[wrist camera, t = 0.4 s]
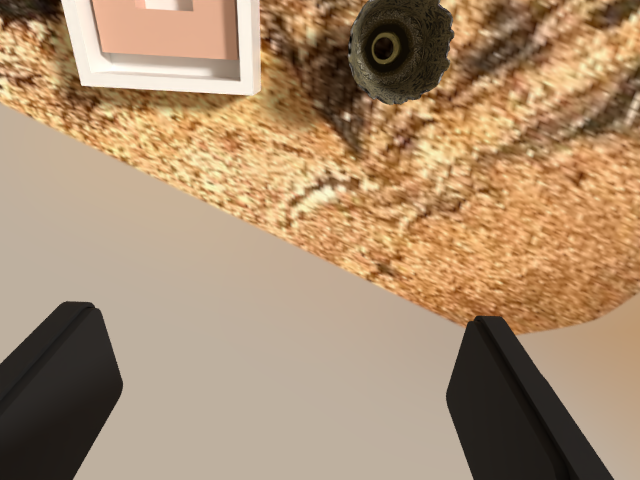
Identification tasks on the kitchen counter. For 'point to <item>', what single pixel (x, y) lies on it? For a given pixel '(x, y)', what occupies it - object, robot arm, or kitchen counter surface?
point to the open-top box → (165, 69)
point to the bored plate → (169, 29)
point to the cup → (400, 48)
